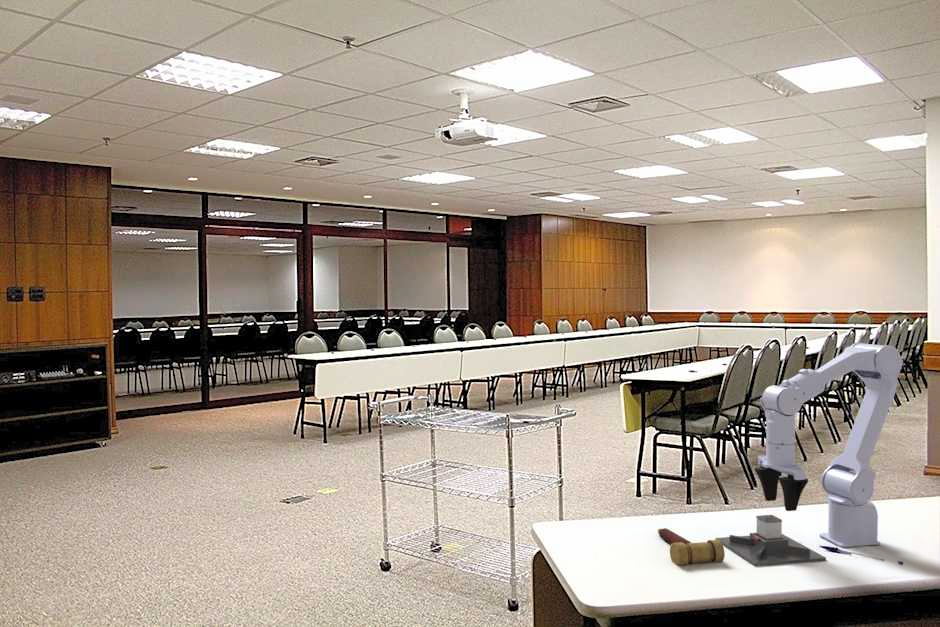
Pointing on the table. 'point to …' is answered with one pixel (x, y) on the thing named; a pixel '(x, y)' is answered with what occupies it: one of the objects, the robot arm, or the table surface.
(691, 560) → the gavel
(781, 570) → the table surface
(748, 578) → the table surface
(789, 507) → the robot arm
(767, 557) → the stand base
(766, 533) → the grey rectangular block
